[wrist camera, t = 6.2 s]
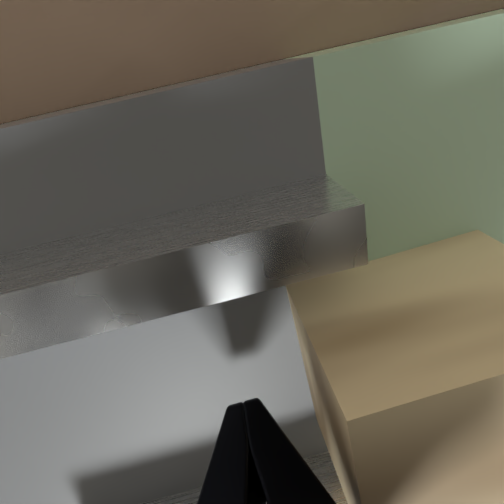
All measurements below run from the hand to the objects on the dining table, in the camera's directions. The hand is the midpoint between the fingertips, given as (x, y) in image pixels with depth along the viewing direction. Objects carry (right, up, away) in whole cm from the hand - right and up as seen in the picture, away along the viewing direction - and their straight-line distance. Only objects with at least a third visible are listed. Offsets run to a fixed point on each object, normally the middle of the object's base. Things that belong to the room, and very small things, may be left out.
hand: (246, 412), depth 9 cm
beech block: (+4, +2, +1) cm, 4 cm away
